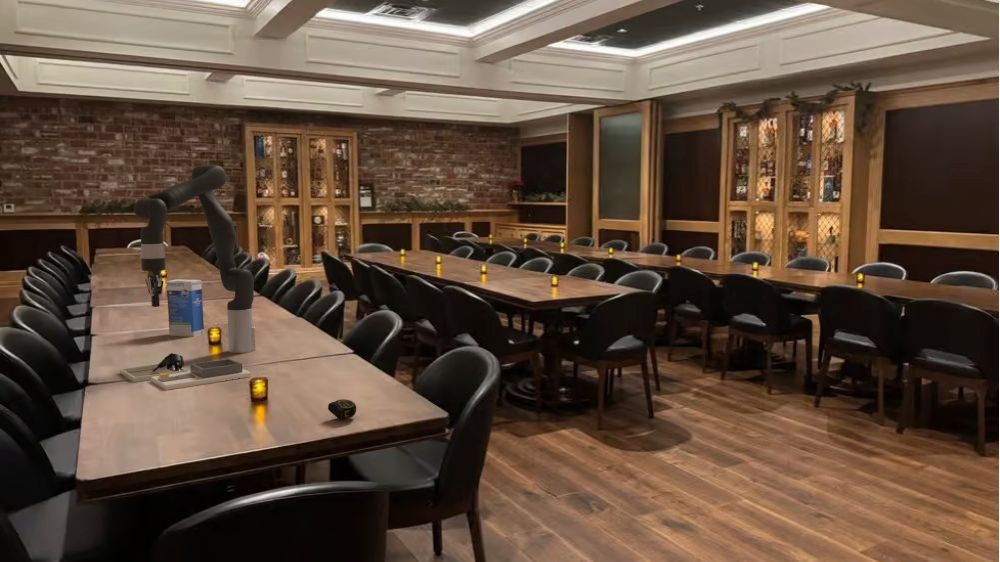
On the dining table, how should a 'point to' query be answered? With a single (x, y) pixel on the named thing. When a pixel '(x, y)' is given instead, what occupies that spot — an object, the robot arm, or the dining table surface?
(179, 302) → the string lights box
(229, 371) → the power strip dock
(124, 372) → the pick tray
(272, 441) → the dining table surface
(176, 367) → the power plug
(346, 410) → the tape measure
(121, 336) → the dining table surface
